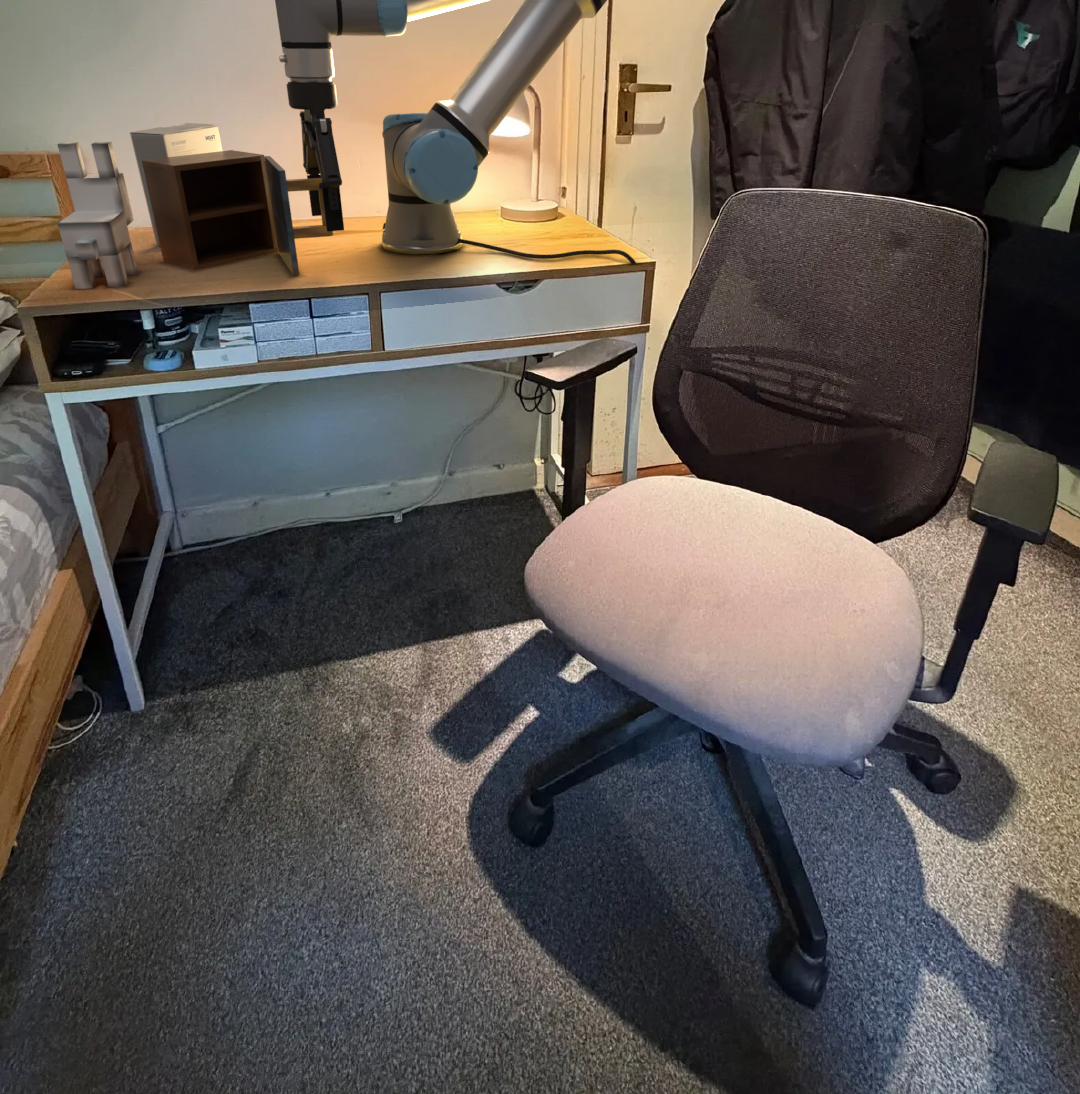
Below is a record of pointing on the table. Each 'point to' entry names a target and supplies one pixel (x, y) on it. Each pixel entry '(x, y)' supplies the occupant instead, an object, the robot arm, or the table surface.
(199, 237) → the cupboard
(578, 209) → the table surface
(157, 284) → the table surface
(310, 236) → the cupboard door
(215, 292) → the table surface
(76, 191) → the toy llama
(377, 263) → the table surface
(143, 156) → the hard drive box
